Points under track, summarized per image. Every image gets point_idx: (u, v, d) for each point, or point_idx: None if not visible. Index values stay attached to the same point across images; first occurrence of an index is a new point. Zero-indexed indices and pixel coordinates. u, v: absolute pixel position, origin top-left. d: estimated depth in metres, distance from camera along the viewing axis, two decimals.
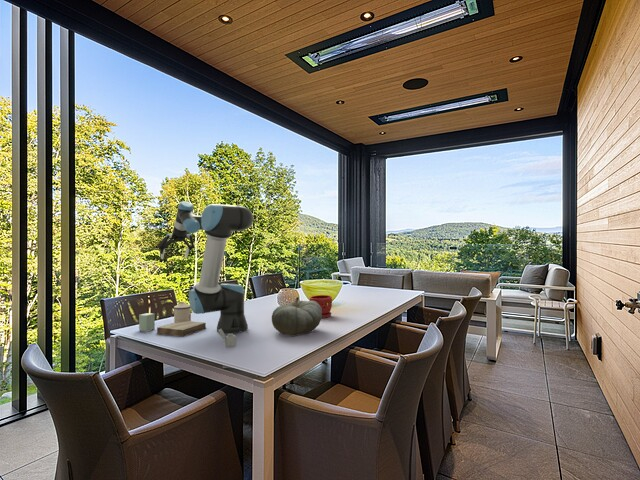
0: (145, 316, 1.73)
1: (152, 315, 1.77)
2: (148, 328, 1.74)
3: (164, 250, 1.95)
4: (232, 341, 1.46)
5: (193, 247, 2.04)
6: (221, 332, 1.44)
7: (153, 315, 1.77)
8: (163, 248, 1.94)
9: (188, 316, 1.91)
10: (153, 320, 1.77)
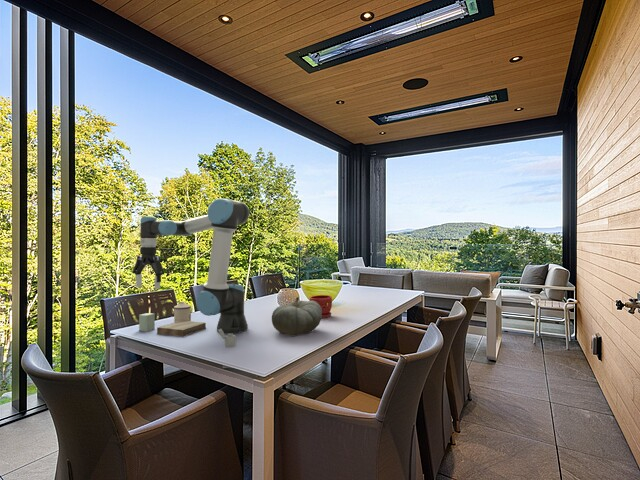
0: (145, 316, 1.73)
1: (152, 315, 1.77)
2: (148, 328, 1.74)
3: None
4: (232, 341, 1.46)
5: None
6: (221, 332, 1.44)
7: (153, 315, 1.77)
8: None
9: (188, 316, 1.91)
10: (153, 320, 1.77)
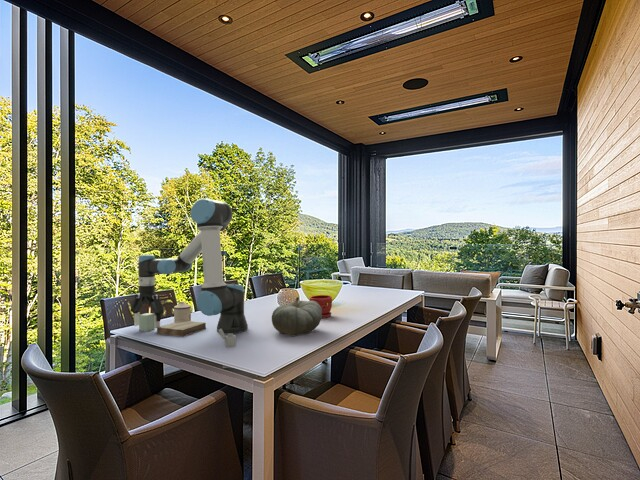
0: (145, 316, 1.73)
1: (152, 315, 1.77)
2: (148, 328, 1.74)
3: None
4: (232, 341, 1.46)
5: None
6: (221, 332, 1.44)
7: (153, 315, 1.77)
8: None
9: (188, 316, 1.91)
10: (153, 320, 1.77)
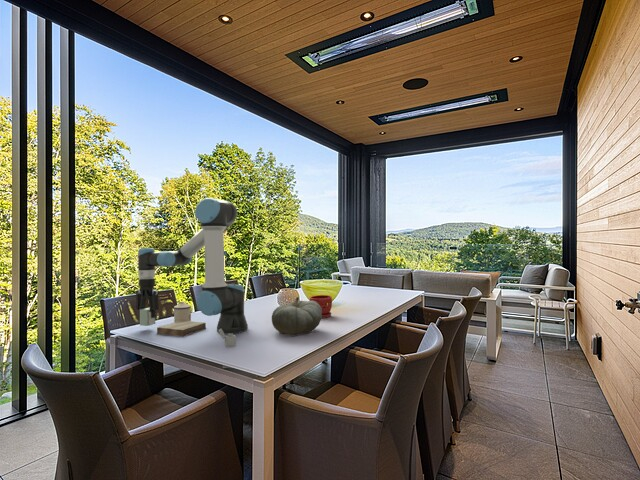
0: (145, 310, 1.73)
1: None
2: None
3: None
4: (232, 341, 1.46)
5: None
6: (221, 332, 1.44)
7: None
8: None
9: (188, 316, 1.91)
10: None
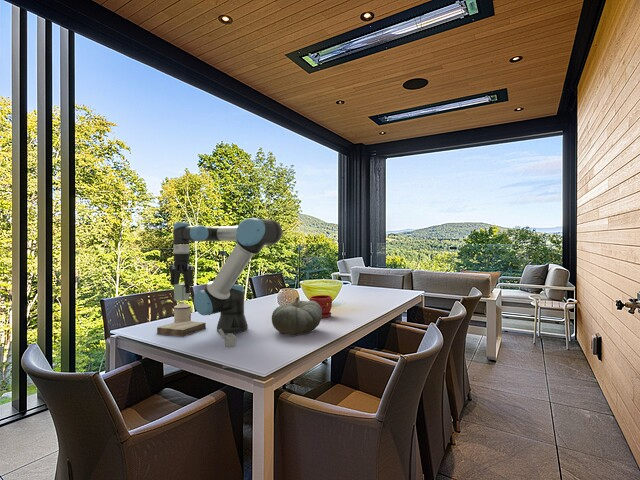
0: (180, 285, 1.71)
1: None
2: (183, 298, 1.71)
3: None
4: (232, 341, 1.46)
5: None
6: (221, 332, 1.44)
7: None
8: None
9: (188, 316, 1.91)
10: None
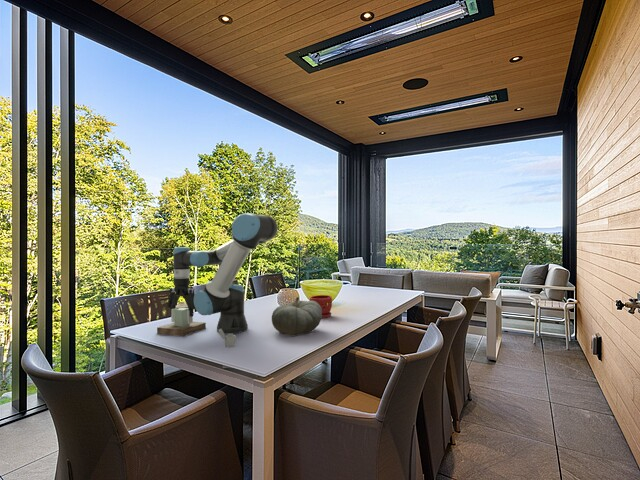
0: (181, 311, 1.70)
1: None
2: (184, 323, 1.71)
3: None
4: (232, 341, 1.46)
5: None
6: (221, 332, 1.44)
7: None
8: None
9: None
10: None
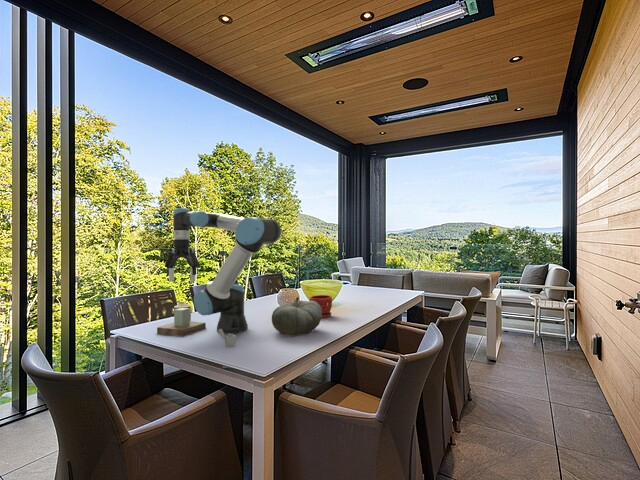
0: (181, 311, 1.70)
1: (187, 310, 1.74)
2: (184, 323, 1.71)
3: None
4: (232, 341, 1.46)
5: None
6: (221, 332, 1.44)
7: (188, 310, 1.74)
8: None
9: None
10: (188, 315, 1.74)
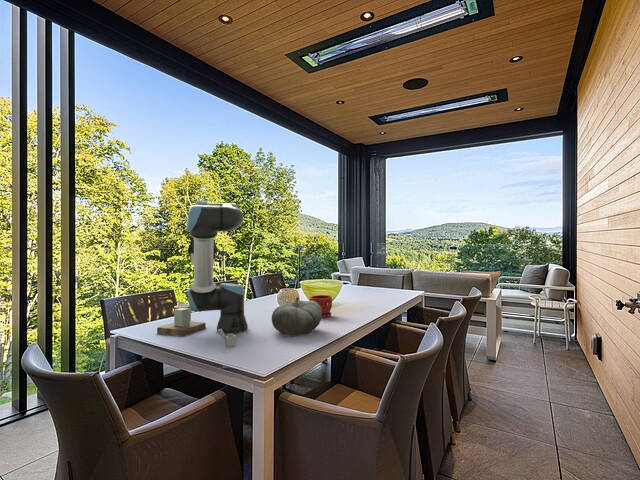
0: (181, 311, 1.70)
1: (187, 310, 1.74)
2: (184, 323, 1.71)
3: None
4: (232, 341, 1.46)
5: None
6: (221, 332, 1.44)
7: (188, 310, 1.74)
8: None
9: None
10: (188, 315, 1.74)
